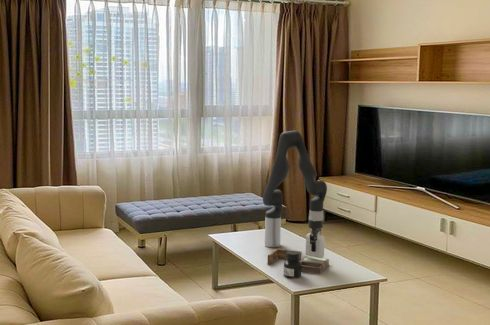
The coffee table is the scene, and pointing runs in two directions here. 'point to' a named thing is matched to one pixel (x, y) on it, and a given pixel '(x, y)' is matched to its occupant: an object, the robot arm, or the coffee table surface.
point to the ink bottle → (292, 265)
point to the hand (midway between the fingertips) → (314, 250)
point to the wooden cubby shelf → (278, 255)
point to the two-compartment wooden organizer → (314, 264)
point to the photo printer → (319, 246)
